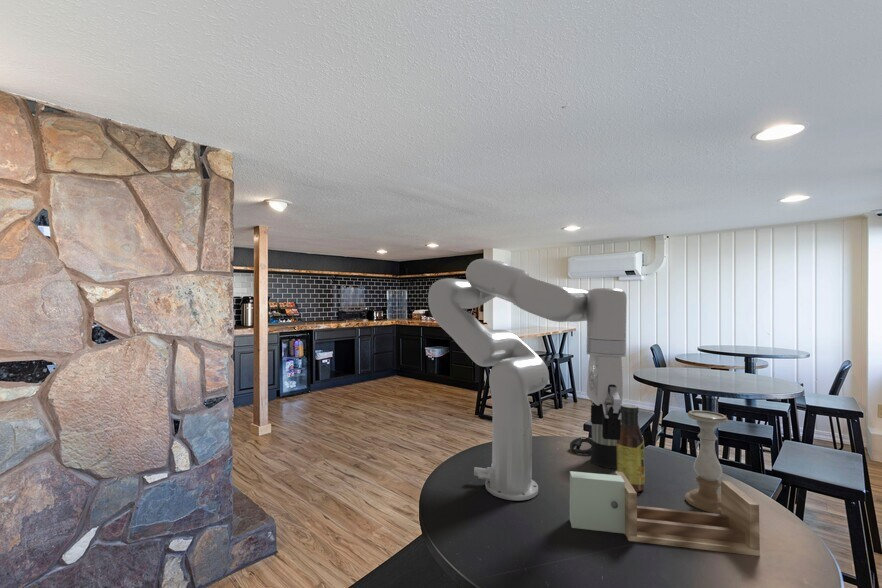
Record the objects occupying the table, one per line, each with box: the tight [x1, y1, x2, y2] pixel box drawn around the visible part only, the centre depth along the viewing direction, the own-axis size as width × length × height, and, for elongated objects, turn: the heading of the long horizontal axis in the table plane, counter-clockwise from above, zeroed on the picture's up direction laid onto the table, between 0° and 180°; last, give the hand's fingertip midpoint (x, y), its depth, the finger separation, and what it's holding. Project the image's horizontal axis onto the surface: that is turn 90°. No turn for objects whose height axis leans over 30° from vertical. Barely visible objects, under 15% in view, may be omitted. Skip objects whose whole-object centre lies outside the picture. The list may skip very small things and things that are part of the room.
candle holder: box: [685, 409, 729, 514], centre depth 89 cm, size 9×9×20 cm
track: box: [614, 470, 761, 557], centre depth 77 cm, size 22×10×9 cm, turn 79°
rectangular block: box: [569, 470, 626, 535], centre depth 79 cm, size 10×4×10 cm, turn 79°
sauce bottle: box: [616, 403, 646, 493], centre depth 98 cm, size 7×6×20 cm
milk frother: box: [569, 407, 622, 469], centre depth 117 cm, size 14×16×15 cm
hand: (604, 431), depth 81 cm, fingers open, 9 cm apart
